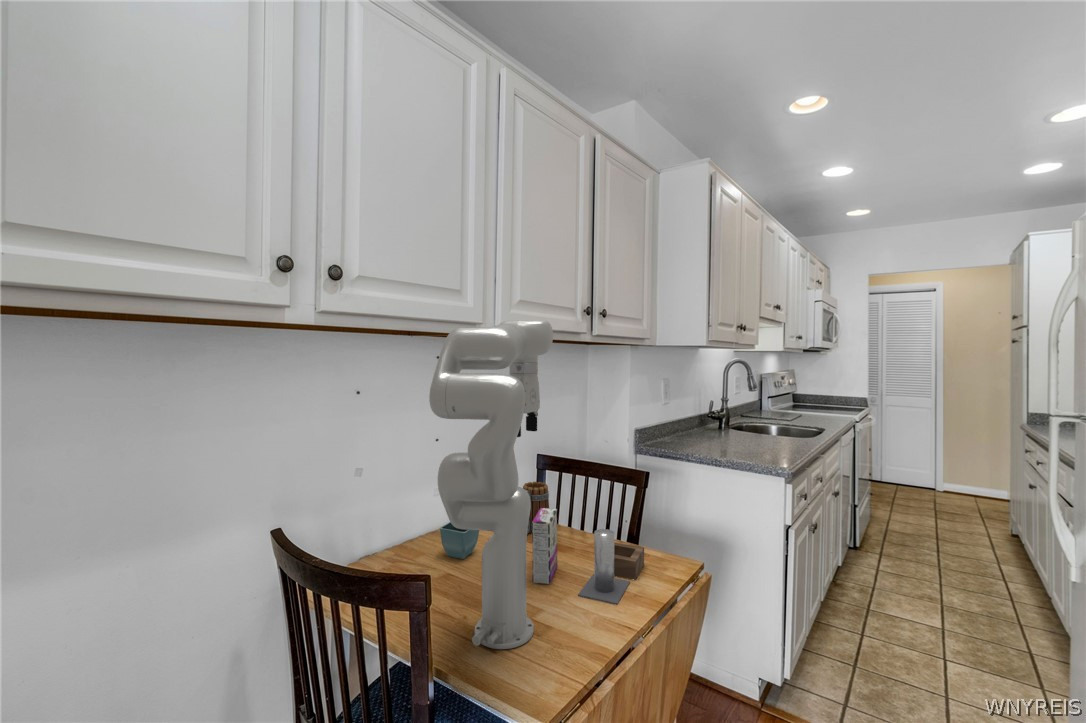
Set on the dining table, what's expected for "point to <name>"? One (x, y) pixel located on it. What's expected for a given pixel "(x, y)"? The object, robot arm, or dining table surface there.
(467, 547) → the flower pot
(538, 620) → the dining table surface
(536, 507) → the mug
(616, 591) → the rubber mat
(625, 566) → the eye block
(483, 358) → the robot arm
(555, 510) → the candy bar box
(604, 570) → the metal peg
